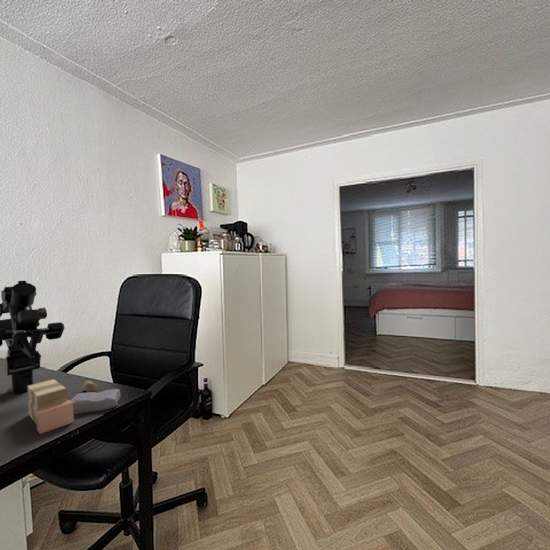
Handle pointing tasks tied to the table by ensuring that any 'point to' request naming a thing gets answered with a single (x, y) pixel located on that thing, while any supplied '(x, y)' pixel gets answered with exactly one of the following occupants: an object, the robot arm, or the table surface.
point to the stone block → (95, 401)
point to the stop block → (54, 416)
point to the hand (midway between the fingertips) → (32, 356)
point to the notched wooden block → (44, 395)
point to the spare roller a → (89, 386)
